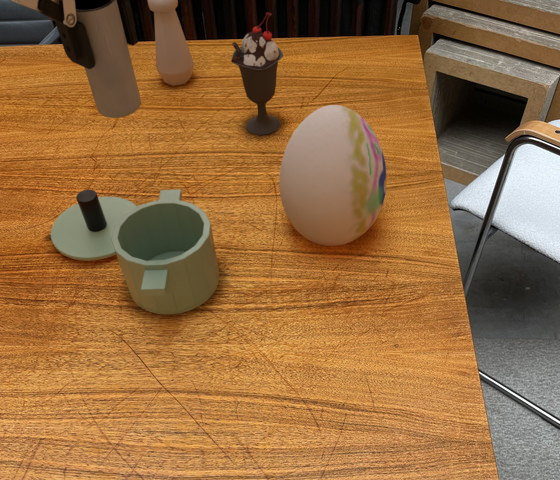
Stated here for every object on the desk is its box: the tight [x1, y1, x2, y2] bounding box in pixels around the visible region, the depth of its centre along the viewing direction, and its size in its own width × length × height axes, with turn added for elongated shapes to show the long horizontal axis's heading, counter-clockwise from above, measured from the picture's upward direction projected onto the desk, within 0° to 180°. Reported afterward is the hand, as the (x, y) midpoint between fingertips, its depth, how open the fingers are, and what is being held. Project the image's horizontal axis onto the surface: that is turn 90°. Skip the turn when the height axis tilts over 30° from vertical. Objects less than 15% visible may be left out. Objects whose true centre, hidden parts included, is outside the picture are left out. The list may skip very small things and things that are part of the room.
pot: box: [111, 188, 220, 316], centre depth 70 cm, size 10×16×8 cm, turn 179°
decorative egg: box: [278, 104, 388, 247], centre depth 72 cm, size 12×12×15 cm
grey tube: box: [75, 0, 142, 119], centre depth 61 cm, size 4×4×10 cm
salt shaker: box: [146, 0, 195, 87], centre depth 95 cm, size 6×6×13 cm
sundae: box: [230, 12, 284, 136], centre depth 85 cm, size 7×7×15 cm
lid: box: [50, 188, 138, 262], centre depth 77 cm, size 11×11×6 cm
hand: (104, 50), depth 61 cm, fingers closed on grey tube, 4 cm apart
